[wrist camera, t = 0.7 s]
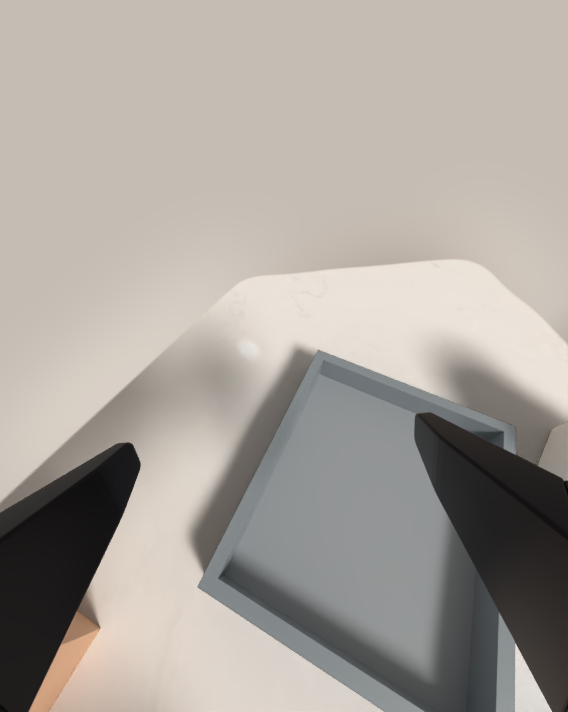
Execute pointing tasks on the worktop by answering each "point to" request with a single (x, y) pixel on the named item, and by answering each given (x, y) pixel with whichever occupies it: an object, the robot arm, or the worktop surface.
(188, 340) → the worktop surface
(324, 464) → the tray
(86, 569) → the robot arm
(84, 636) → the carton
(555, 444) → the medicine bottle
